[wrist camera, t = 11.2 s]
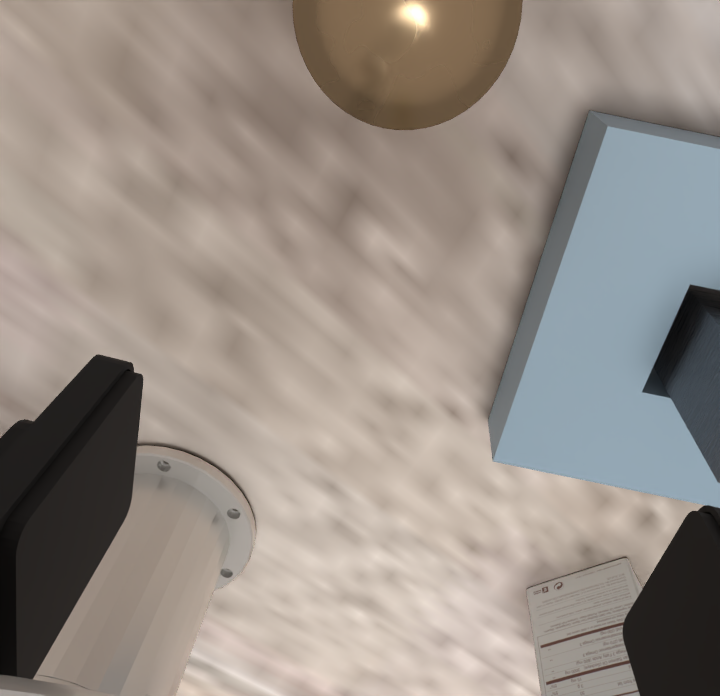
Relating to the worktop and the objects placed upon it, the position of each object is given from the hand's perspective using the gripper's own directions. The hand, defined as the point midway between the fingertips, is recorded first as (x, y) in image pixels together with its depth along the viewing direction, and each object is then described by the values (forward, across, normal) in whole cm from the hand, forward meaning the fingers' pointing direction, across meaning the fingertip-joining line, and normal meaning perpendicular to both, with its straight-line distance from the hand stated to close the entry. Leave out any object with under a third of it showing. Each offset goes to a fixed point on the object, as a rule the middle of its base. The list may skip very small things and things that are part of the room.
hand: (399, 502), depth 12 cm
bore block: (+26, -16, +4) cm, 31 cm away
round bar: (+26, +2, -7) cm, 27 cm away
